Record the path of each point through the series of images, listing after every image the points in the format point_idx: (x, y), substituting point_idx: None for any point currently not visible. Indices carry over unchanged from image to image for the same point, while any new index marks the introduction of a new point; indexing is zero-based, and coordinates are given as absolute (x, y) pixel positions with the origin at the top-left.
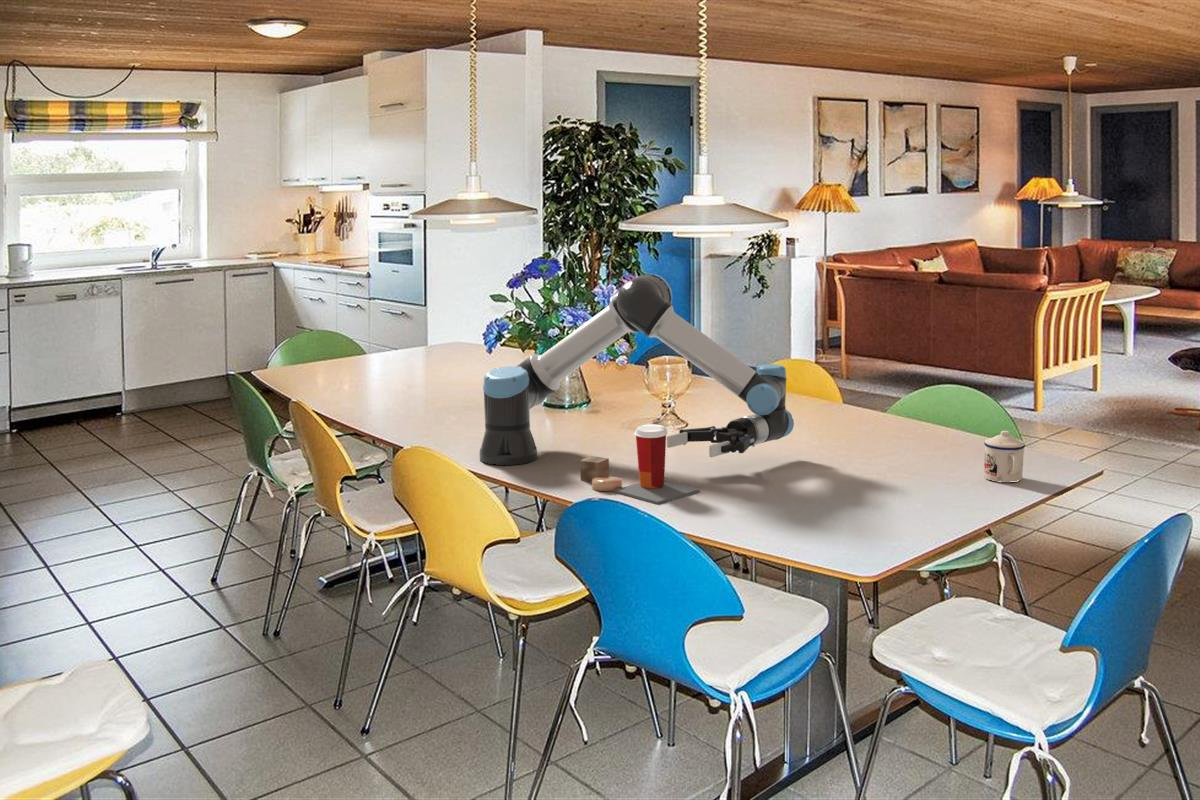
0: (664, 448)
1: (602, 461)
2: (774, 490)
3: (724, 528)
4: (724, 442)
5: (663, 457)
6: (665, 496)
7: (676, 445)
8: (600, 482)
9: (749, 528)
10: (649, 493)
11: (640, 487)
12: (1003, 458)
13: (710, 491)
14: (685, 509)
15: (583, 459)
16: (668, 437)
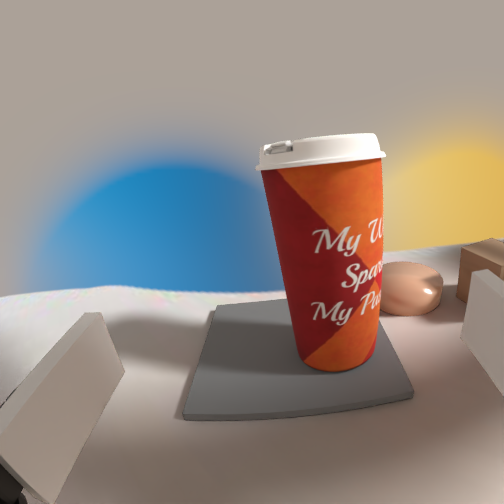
0: (275, 227)
1: (478, 256)
2: None
3: (61, 307)
4: (13, 398)
5: (280, 260)
6: (227, 328)
7: (491, 376)
8: (385, 264)
9: (29, 321)
10: (279, 318)
11: None
12: None
13: (152, 442)
14: (147, 323)
15: (498, 241)
16: (475, 275)
